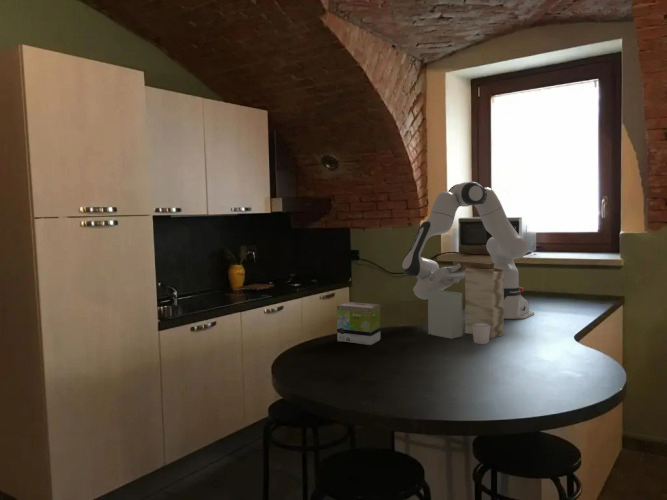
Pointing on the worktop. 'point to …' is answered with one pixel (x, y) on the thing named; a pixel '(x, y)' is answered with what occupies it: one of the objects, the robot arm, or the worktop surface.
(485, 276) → the shelf block
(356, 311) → the tea box
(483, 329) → the grey brown short cylinder
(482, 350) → the worktop surface
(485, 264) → the walnut bar
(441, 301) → the block
